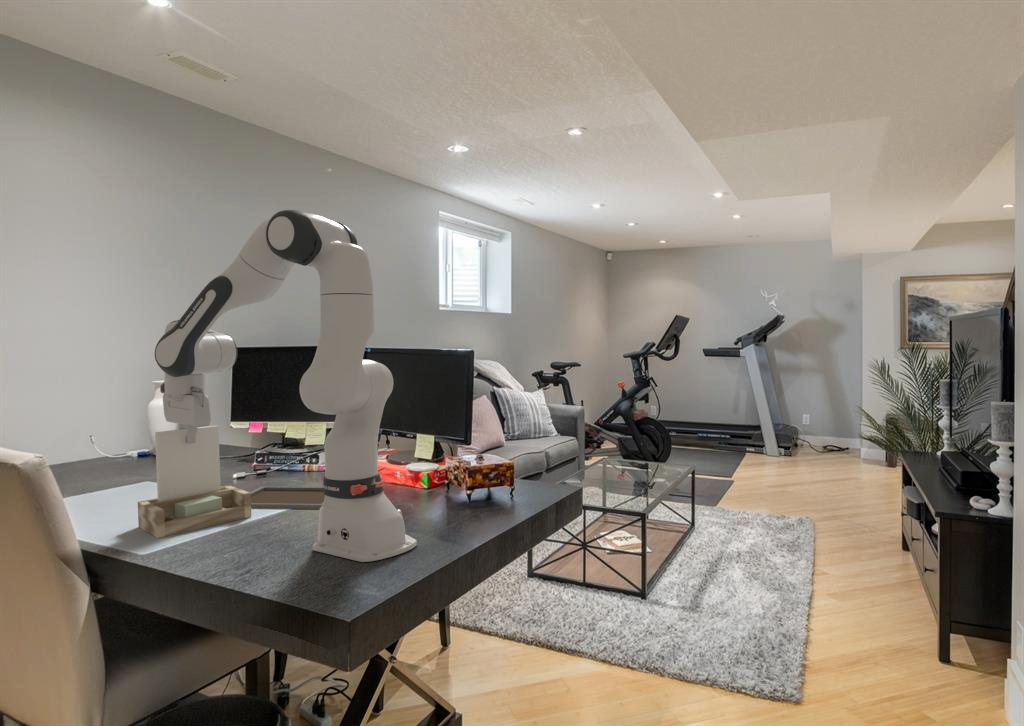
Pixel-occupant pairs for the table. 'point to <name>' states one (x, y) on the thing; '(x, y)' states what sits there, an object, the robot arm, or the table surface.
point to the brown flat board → (287, 497)
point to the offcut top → (198, 506)
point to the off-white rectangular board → (187, 463)
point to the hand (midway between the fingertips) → (188, 442)
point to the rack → (157, 514)
